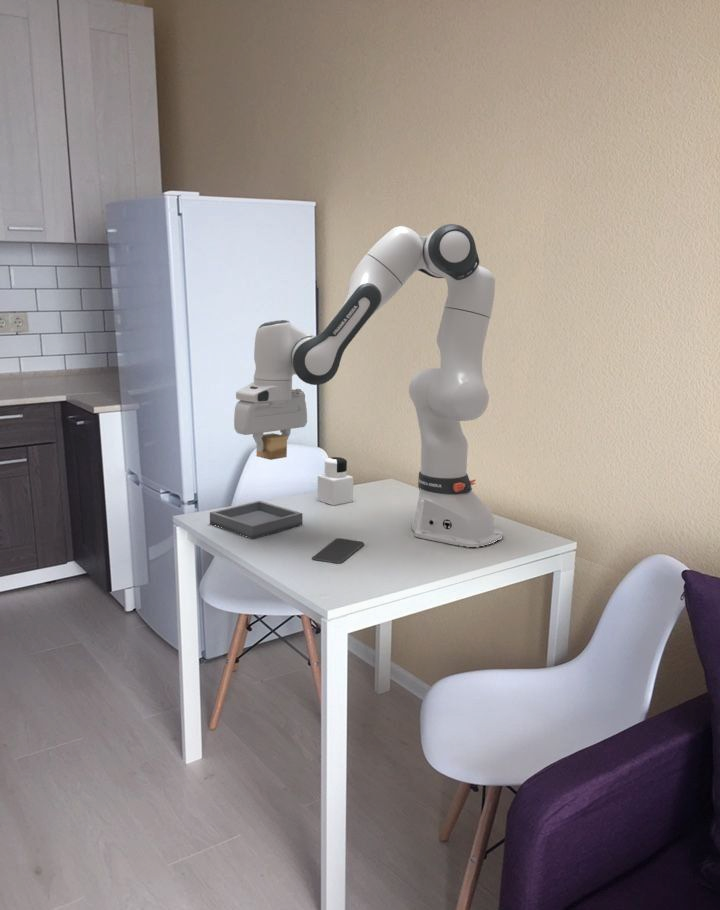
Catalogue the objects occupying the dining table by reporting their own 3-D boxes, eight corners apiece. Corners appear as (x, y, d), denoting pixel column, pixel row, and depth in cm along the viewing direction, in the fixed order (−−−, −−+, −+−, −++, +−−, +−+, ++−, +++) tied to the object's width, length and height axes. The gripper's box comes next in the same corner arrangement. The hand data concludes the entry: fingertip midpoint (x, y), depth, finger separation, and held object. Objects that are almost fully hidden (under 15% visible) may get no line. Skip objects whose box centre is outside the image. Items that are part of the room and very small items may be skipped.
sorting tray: (302, 525, 199) (302, 513, 198) (252, 539, 187) (252, 526, 187) (259, 511, 210) (259, 500, 209) (209, 524, 198) (209, 512, 197)
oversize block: (286, 457, 191) (287, 436, 190) (270, 459, 187) (271, 438, 186) (272, 453, 194) (272, 433, 193) (256, 456, 190) (256, 435, 189)
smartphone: (309, 558, 175) (336, 537, 188) (309, 562, 175) (336, 541, 188) (341, 562, 172) (365, 541, 186) (341, 567, 172) (365, 545, 186)
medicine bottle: (337, 496, 227) (338, 454, 224) (353, 501, 221) (354, 459, 219) (316, 500, 222) (317, 457, 220) (332, 505, 217) (333, 462, 214)
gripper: (295, 386, 197) (294, 442, 200) (230, 392, 182) (229, 452, 185) (313, 389, 193) (312, 446, 196) (248, 395, 178) (247, 457, 180)
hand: (271, 449), depth 190 cm, fingers closed on oversize block, 5 cm apart
